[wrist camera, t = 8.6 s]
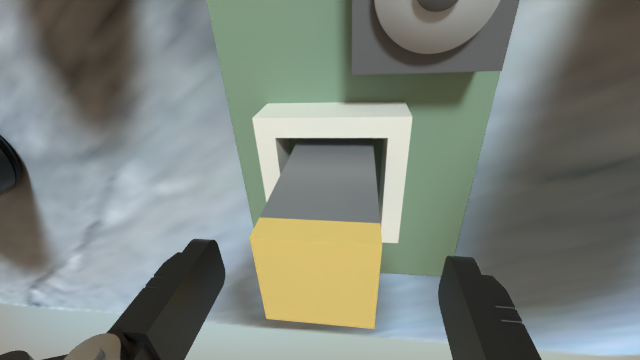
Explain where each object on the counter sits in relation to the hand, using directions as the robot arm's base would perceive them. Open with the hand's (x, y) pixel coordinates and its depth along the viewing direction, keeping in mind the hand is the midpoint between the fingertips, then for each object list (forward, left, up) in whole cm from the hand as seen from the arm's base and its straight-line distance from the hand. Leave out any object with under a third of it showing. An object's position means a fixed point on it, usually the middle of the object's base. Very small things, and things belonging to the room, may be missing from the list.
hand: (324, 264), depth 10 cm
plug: (0, 0, -8) cm, 8 cm away
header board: (-1, -2, -9) cm, 10 cm away
